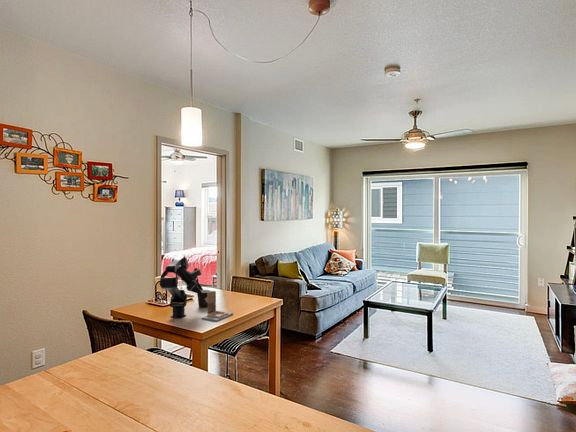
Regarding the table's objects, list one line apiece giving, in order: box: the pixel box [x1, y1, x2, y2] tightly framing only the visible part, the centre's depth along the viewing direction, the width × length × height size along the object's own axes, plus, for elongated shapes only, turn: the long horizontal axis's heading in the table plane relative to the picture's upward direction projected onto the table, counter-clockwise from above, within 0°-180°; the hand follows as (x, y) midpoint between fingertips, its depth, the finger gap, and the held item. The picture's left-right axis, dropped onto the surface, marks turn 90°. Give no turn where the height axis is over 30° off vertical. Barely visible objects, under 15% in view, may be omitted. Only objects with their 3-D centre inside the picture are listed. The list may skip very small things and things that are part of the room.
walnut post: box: [206, 290, 217, 314], centre depth 213 cm, size 5×5×13 cm
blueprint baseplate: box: [201, 310, 234, 323], centre depth 205 cm, size 16×11×2 cm, turn 154°
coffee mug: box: [196, 289, 211, 309], centre depth 227 cm, size 12×9×10 cm
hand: (202, 291), depth 212 cm, fingers open, 9 cm apart
